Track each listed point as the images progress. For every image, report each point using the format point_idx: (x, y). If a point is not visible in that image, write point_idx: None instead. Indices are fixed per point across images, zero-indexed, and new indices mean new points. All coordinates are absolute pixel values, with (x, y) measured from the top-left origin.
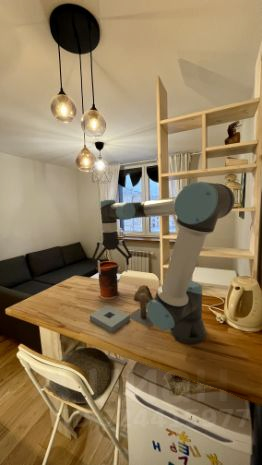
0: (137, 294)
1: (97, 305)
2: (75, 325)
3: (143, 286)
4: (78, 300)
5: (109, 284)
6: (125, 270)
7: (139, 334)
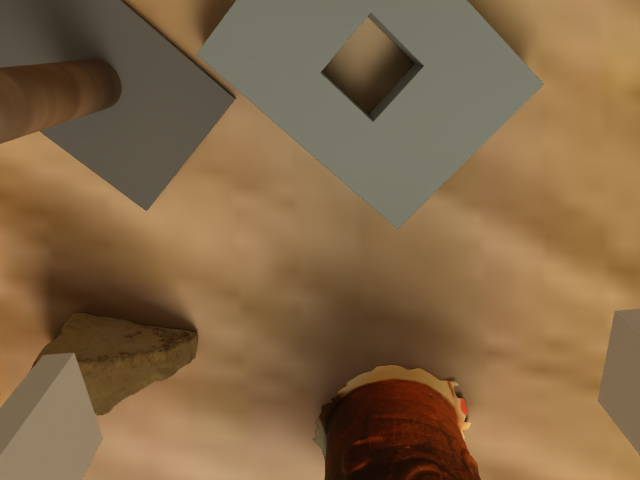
0: (147, 347)
1: (473, 283)
2: (637, 20)
3: None
4: None
5: (395, 463)
6: (85, 413)
7: None
